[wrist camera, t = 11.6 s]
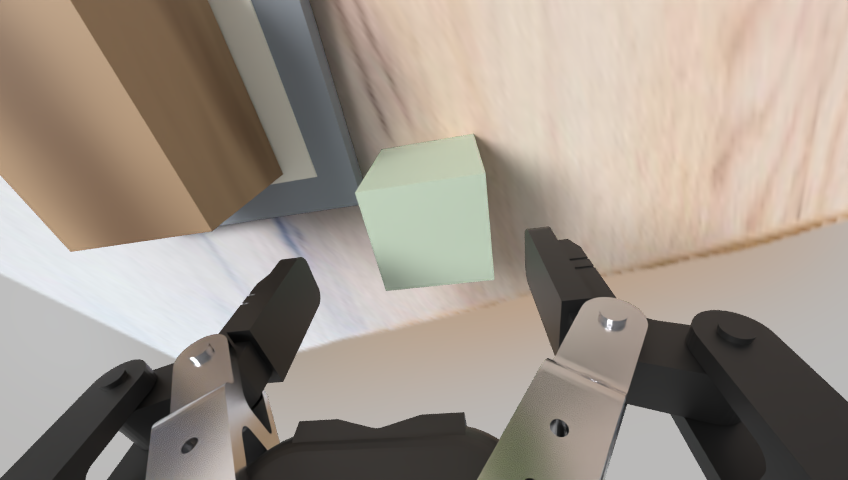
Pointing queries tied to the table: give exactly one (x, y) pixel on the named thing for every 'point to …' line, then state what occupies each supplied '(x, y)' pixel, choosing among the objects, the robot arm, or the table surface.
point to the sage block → (428, 214)
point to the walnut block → (126, 119)
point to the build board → (291, 106)
